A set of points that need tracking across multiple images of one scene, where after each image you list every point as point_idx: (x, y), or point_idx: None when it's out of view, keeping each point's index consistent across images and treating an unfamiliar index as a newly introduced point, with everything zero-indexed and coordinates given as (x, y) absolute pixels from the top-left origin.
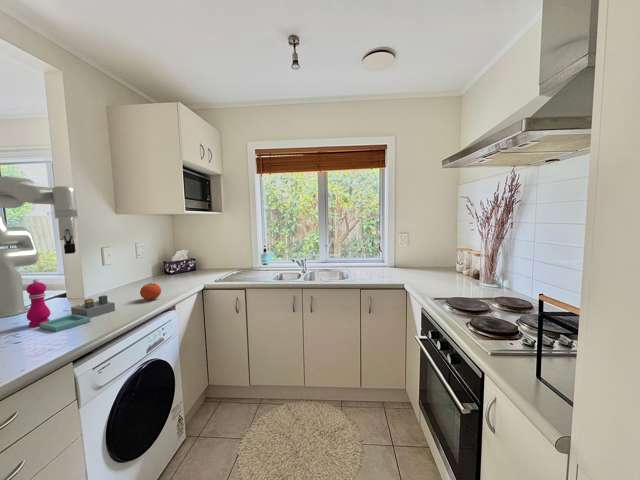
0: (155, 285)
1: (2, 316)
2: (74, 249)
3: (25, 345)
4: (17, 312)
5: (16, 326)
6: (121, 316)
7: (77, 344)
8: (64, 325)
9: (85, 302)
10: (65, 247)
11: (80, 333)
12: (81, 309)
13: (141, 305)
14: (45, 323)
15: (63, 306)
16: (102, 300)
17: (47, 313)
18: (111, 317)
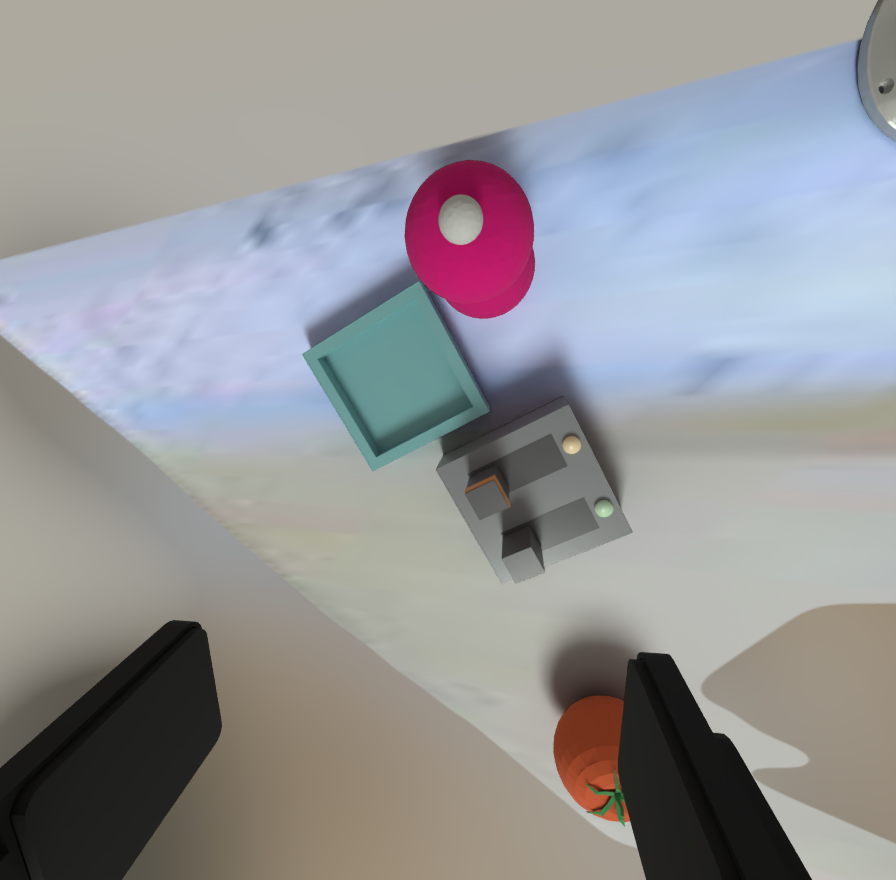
0: (586, 807)
1: (871, 16)
2: (632, 820)
3: (211, 267)
4: (874, 96)
5: (541, 168)
6: (382, 567)
7: (133, 422)
8: (319, 382)
9: (485, 479)
10: (56, 743)
11: (245, 430)
12: (476, 449)
13: (513, 657)
14: (398, 306)
15: (856, 346)
16: (502, 549)
17: (456, 308)
18: (394, 536)
